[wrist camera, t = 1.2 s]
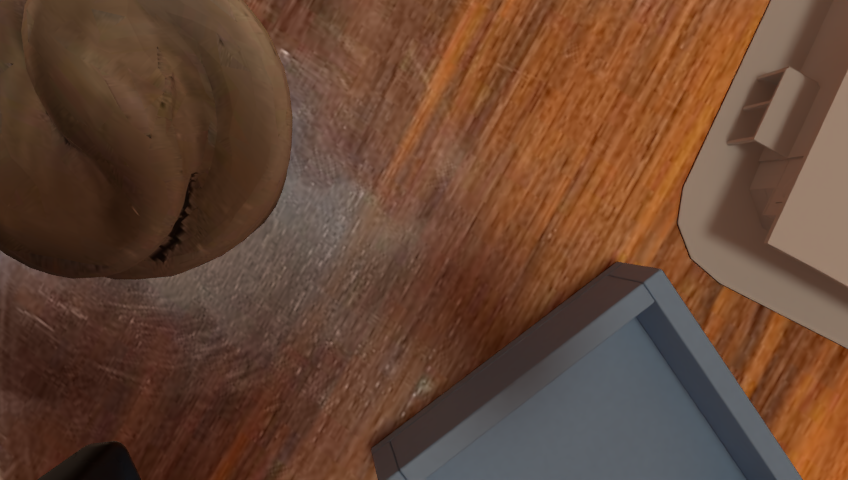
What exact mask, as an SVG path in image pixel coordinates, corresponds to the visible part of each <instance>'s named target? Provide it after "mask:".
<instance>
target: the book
mask: <svg viewBox="0 0 848 480" xmlns="http://www.w3.org/2000/svg"><path fill="white" fill-rule="evenodd" d="M677 224H678V226H679V229H680V231H681V234H682V237H683V239H684V242H685V245H686V247H687V250H688V252H689V255H690V258H691V259H692V260H693V261H694V262H696V263H697V264H698V265H699V266H700V267H701V268H703V269H704V270H705V271H706V272H707V273H708V274H709V275H711V276H712V277H713V278H714V279H715V280H716V281H717V282H719V283H720V284H722V285H724V286H726V287H728V288H730V289H732V290H734V291H736V292H738V293H740V294H741V295H743V296H745V297H747V298H749V299H751V300H753V301H755V302H757V303H759V304H761V305H763V306H765V307H767V308H769V309H771V310H773V311H775V312H777V313H779V314H781V315H783V316H785V317H787V318H789V319H790V320H792V321H794V322H796V323H798V324H800V325H802V326H804V327H806V328H808V329H810V330H812V331H814V332H816V333H818V334H820V335H822V336H824V337H826V338H828V339H830V340H832V341H834V342H836V343H837V344H839V345H841V346H843V347H845V348H847V349H848V0H771V1H770V3H769V5H768V7H767V9H766V11H765V14H764V16H763V18H762V20H761V22H760V24H759V26H758V29H757V31H756V33H755V35H754V37H753V39H752V41H751V43H750V46H749V48H748V50H747V52H746V54H745V56H744V58H743V61H742V63H741V65H740V67H739V69H738V71H737V73H736V75H735V78H734V80H733V82H732V84H731V86H730V88H729V90H728V92H727V95H726V97H725V99H724V101H723V103H722V105H721V107H720V110H719V112H718V114H717V116H716V118H715V120H714V122H713V124H712V127H711V129H710V131H709V133H708V135H707V137H706V139H705V141H704V144H703V146H702V148H701V150H700V152H699V154H698V156H697V159H696V161H695V163H694V165H693V167H692V169H691V171H690V173H689V176H688V178H687V180H686V182H685V184H684V186H683V190H682V197H681V203H680V209H679V215H678V222H677Z"/></svg>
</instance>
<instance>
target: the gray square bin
mask: <svg viewBox="0 0 848 480" xmlns="http://www.w3.org/2000/svg"><path fill="white" fill-rule="evenodd" d="M371 451H372V455H373V459H374V464H375V468H376V473H377V477H378V480H803V479H802V478H801V476H800V475H799V473H798V472H797V470H796V469H795V467H794V466H793V464H792V463H791V461H790V460H789V458H788V457H787V455H786V454H785V452H784V451H783V449H782V448H781V447H780V445H779V444H778V442H777V441H776V439H775V438H774V436H773V435H772V433H771V432H770V430H769V429H768V427H767V426H766V424H765V423H764V421H763V420H762V418H761V417H760V415H759V414H758V412H757V411H756V409H755V408H754V406H753V405H752V403H751V402H750V400H749V399H748V397H747V396H746V394H745V393H744V391H743V390H742V388H741V387H740V385H739V384H738V382H737V381H736V379H735V378H734V376H733V375H732V373H731V372H730V370H729V369H728V367H727V366H726V364H725V363H724V362H723V360H722V359H721V357H720V356H719V354H718V353H717V351H716V350H715V348H714V347H713V345H712V344H711V342H710V341H709V339H708V338H707V336H706V335H705V333H704V332H703V330H702V329H701V327H700V326H699V324H698V323H697V321H696V320H695V318H694V317H693V315H692V314H691V312H690V311H689V309H688V308H687V306H686V305H685V303H684V302H683V300H682V299H681V297H680V296H679V294H678V293H677V291H676V290H675V288H674V287H673V285H672V284H671V282H670V281H669V279H668V278H667V276H666V275H665V274H664V272H663V271H662V270H661V269H657V268H651V267H645V266H639V265H633V264H627V263H622V262H616V263H615V264H613V265H612V266H611V267H609V268H608V269H607V270H605V271H604V272H603V273H601V274H600V275H599V276H597V277H596V278H595V279H593V280H592V281H591V282H590V283H588V284H587V285H586V286H584V287H583V288H582V289H580V290H579V291H578V292H576V293H575V294H574V295H572V296H571V297H570V298H568V299H567V300H566V301H565V302H563V303H562V304H561V305H559V306H558V307H557V308H555V309H554V310H553V311H551V312H550V313H549V314H547V315H546V316H545V317H544V318H542V319H541V320H540V321H538V322H537V323H536V324H534V325H533V326H532V327H530V328H529V329H528V330H526V331H525V332H524V333H522V334H521V335H520V336H519V337H517V338H516V339H515V340H513V341H512V342H511V343H509V344H508V345H507V346H505V347H504V348H503V349H501V350H500V351H499V352H497V353H496V354H495V355H494V356H492V357H491V358H490V359H488V360H487V361H486V362H484V363H483V364H482V365H480V366H479V367H478V368H476V369H475V370H474V371H473V372H471V373H470V374H469V375H467V376H466V377H465V378H463V379H462V380H461V381H459V382H458V383H457V384H455V385H454V386H453V387H451V388H450V389H449V390H448V391H446V392H445V393H444V394H442V395H441V396H440V397H438V398H437V399H436V400H434V401H433V402H432V403H430V404H429V405H428V406H427V407H425V408H424V409H423V410H421V411H420V412H419V413H417V414H416V415H415V416H413V417H412V418H411V419H409V420H408V421H407V422H405V423H404V424H403V425H402V426H400V427H399V428H398V429H396V430H395V431H394V432H392V433H391V434H390V435H388V436H387V437H386V438H384V439H383V440H382V441H380V442H379V443H378V444H377V445H375V446H374V447H373V448H372V449H371Z"/></svg>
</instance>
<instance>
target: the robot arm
mask: <svg viewBox="0 0 848 480" xmlns="http://www.w3.org/2000/svg"><path fill="white" fill-rule="evenodd" d="M38 480H141V478H140V476H139V474H138V472H137V470H136V467H135V465H134V463H133V461H132V459H131V457H130V455H129V453H128V451H127V449H126V447H125V446H124V445H123V444H122V443H120V442H117V441H112V442H103V443H94V444H89V445H87V446H85V447H83V448H82V449H80V450H79V451H78V452H76V453H75V454H73V455H72V456H70V457H69V458H68V459H66V460H65V461H63V462H62V463H60V464H59V465H58V466H56V467H55V468H53V469H52V470H51V471H49V472H48V473H46V474H45V475H43V476H42V477H41V478H39V479H38Z"/></svg>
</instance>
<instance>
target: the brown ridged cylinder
mask: <svg viewBox="0 0 848 480" xmlns="http://www.w3.org/2000/svg"><path fill="white" fill-rule="evenodd" d="M291 140H292V110H291V101H290V92H289V87H288V83H287V79H286V75H285V70H284V67H283V65H282V63H281V60H280V58H279V56H278V54H277V51H276V49H275V47H274V45H273V42H272V40H271V38H270V36H269V34H268V32H267V31H266V30H265V28H264V27H263V25H262V24H261V22H260V21H259V20H258V18H257V17H256V16H255V15H254V13H253V12H252V11H251V10H250V8H249V7H248V6H247V5H246V3H245V2H244V1H243V0H0V250H1V251H2V252H3V253H5V254H6V255H8V256H10V257H12V258H13V259H15V260H17V261H19V262H21V263H23V264H25V265H26V266H28V267H30V268H33V269H36V270H39V271H42V272H45V273H48V274H51V275H56V276H62V277H67V278H94V277H107V278H111V279H134V280H136V279H147V278H158V277H169V276H174V275H177V274H180V273H183V272H185V271H188V270H190V269H192V268H195V267H197V266H200V265H202V264H204V263H206V262H209V261H211V260H213V259H215V258H217V257H220V256H222V255H223V254H225V253H226V252H228V251H229V250H231V249H232V248H234V247H235V246H237V245H238V244H239V243H241V242H242V241H244V240H245V239H246V238H247V237H248V236H249V235H250V234H252V233H253V232H254V231H255V230H256V229H257V228H258V227H260V226H261V225H262V224H263V223H264V222H265V221H266V219H267V218H268V216H269V215H270V214H271V212H272V211H273V209H274V208H275V207H276V204H277V202H278V200H279V198H280V195H281V193H282V190H283V187H284V183H285V180H286V175H287V169H288V164H289V160H290V151H291Z"/></svg>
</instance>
